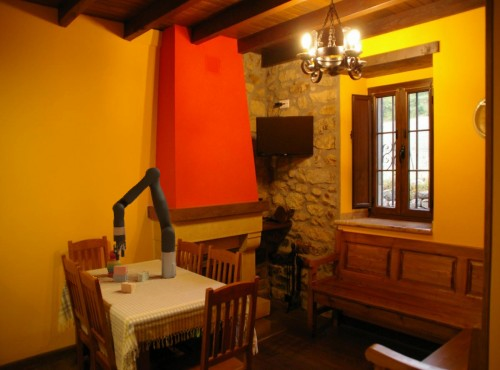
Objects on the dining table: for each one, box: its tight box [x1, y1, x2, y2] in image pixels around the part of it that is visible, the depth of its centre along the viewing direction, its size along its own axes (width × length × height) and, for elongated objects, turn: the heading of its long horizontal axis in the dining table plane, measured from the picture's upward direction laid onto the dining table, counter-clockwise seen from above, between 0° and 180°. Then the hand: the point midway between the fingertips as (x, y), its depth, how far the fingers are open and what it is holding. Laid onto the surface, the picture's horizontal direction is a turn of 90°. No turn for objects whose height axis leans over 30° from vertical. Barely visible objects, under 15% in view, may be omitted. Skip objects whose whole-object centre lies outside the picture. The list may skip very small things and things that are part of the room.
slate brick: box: [112, 273, 128, 283], centre depth 263 cm, size 8×4×5 cm, turn 85°
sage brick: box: [137, 270, 150, 283], centre depth 266 cm, size 8×4×5 cm, turn 165°
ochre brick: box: [120, 281, 137, 294], centre depth 241 cm, size 8×4×5 cm, turn 65°
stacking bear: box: [106, 249, 122, 278], centre depth 278 cm, size 11×10×18 cm
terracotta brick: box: [114, 265, 129, 275], centre depth 263 cm, size 8×4×5 cm, turn 85°
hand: (120, 258), depth 262 cm, fingers open, 8 cm apart
